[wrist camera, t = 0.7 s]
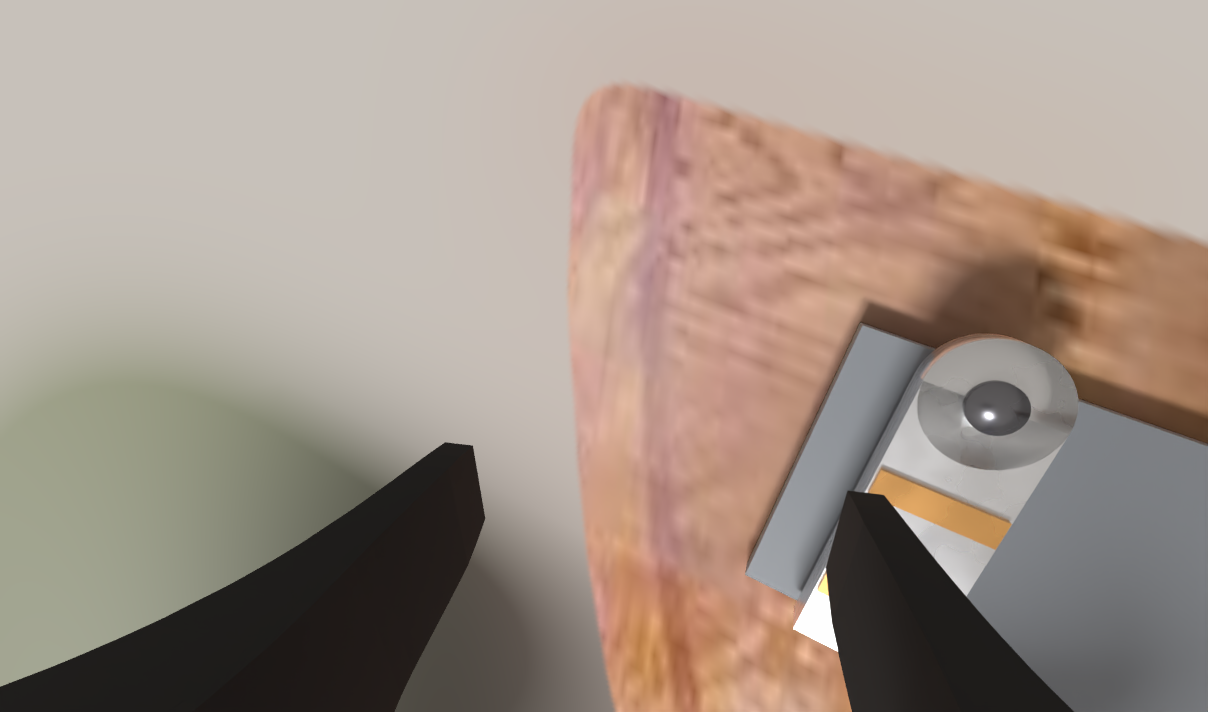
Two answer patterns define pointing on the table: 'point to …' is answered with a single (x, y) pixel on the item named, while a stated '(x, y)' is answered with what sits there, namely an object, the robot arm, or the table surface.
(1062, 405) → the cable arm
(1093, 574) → the label board
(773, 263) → the table surface
